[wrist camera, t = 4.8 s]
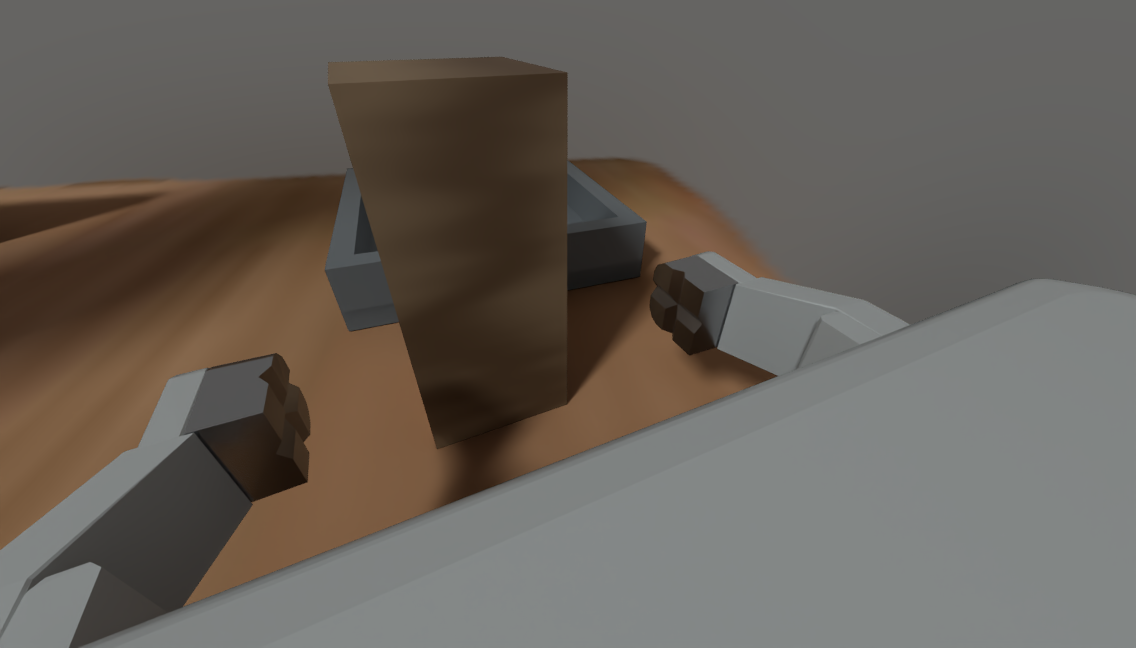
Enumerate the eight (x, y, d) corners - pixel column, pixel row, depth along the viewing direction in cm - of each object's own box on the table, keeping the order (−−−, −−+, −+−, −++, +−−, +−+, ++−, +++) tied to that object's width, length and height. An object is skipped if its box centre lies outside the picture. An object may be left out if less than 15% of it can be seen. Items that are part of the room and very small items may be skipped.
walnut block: (436, 448, 13) (328, 84, 7) (415, 362, 16) (328, 62, 10) (567, 404, 15) (567, 72, 9) (523, 332, 18) (501, 56, 12)
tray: (349, 331, 18) (324, 269, 16) (361, 213, 28) (347, 168, 27) (639, 276, 22) (646, 222, 20) (555, 190, 32) (554, 150, 30)
